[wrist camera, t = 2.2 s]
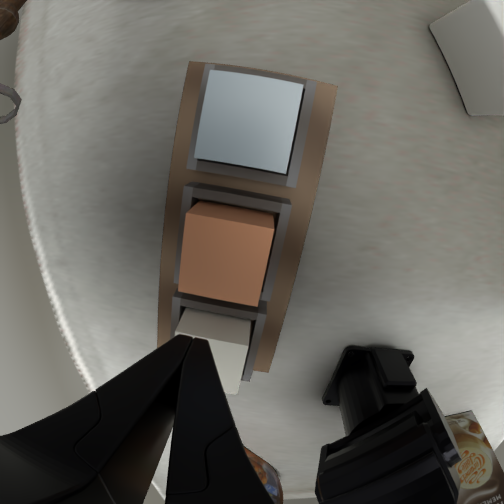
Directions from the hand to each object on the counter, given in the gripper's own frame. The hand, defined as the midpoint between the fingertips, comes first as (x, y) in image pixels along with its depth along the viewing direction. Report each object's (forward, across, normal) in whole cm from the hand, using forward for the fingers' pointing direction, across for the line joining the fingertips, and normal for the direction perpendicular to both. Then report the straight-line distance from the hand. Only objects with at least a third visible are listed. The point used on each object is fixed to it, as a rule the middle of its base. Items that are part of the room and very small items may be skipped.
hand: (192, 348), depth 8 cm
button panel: (+12, 0, 0) cm, 12 cm away
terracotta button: (+10, 0, 0) cm, 10 cm away
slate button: (+10, 0, -6) cm, 12 cm away
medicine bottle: (+12, -15, -16) cm, 25 cm away
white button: (+10, 0, +6) cm, 12 cm away
